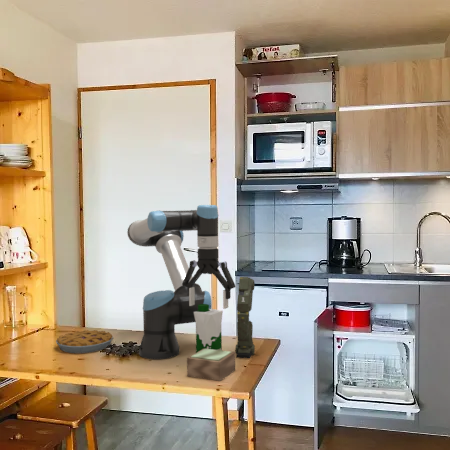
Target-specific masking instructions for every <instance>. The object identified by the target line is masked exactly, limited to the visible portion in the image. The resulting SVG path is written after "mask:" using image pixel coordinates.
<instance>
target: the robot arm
mask: <svg viewBox="0 0 450 450" xmlns="http://www.w3.org/2000/svg"><path fill="white" fill-rule="evenodd" d="M218 209H219V208H218V206H217V205H216V204H201V205H198V206H197V207H196V209H191V210H154V211H153V210H152V211H150V212H149V213H148V215H147V218H145V219H143V220H142V219H139V220H135V221H133V222H132V223H130V224H129V226H128V227H127V232H126V233H127V237H128V239H129V241H130V242H131V243H133V244H134V245H136V246H139V247H155V250H156V251H157V252H158V253H160V254H161V256H162V258H163V261H164V265H165V267H166V270H167V273H168V276H169V278H170V280H171V281H170V282H171V284H172V286H173V289H174V291H173V290H171V289H166V290H157V291H153V292H150V293H148V294H146V295H145V296H144V297H143V301H142V303H143V304H142V311H143V313H142V314H143V315H142V316H143V335H142V336H143V337H142V338H141V341H140V345H139V350H138V351H139V354H138V355H139V356H140V357H141V358H144V359H147V360H163V359H164V360H165V359H170V358H174V357H176V356H179V354H180V345H179V342H178V339H177V336H176V332H175V325H183V324H192V323H196V322H195V317H194V312H195V311H197V310H198V305H199V304H208V305H209V309H212V304H213V303H212V302H213V301H212V296H211V293H210V292H209V291H207V290H203V289H202V287H201V285H200V284H199V283H197V281H198V279H199V278H200V277H201V275H206V274H208V275H213V276H215V278H216V279H217V280H218V282H219V283H220V285H222V287H223V288H224V290H222V306H223V307H222V308H223V309H224V310H226V309H228V308H229V300H230V299H231V298H232V297H231V290H232V289H235V288H236V283H235V281H234V279H233V277H232V275H231V272H230V270H229V268H228V263H227V261H221V262H219V258H220V257H219V248H218V247H219V211H218ZM189 231H190V232H191V231H197V232H196V235H197V243H196V244H197V247H198V248H197V261H196V260H191V261H189V265H188V263H187V260H186V257H185V254H184V253H183V250H182V247H181V246H182V244H183V241H184V237H185V236H184V232H189ZM196 267H197V268H198V269H197V271H196V272H194V271H195V270H196ZM219 268H220V269H221V271H220V270H219ZM221 272H222V273H221ZM194 273H195V274H194ZM193 274H194V275H193Z"/></svg>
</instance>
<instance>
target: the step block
mask: <svg viewBox="0 0 450 450" xmlns="http://www.w3.org/2000/svg"><path fill="white" fill-rule="evenodd" d="M186 368H187V371H186V372H187V373H186V374H187V377H192V378H197V379H198V378H199V379H205V380H211V381H218V382H221V381H223V380H224V379H225V378H226V377H228V376H229V375H230V374H232V373H233V372H234V371H236V351H235V352H234V351H230V350H229V351H228V350H222V351H221V350H213V349H202V350H200V351H199V352H197V353H196V352H195V353H193V354H191V355H190V356H188V357H186Z"/></svg>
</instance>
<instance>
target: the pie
mask: <svg viewBox="0 0 450 450" xmlns="http://www.w3.org/2000/svg"><path fill="white" fill-rule="evenodd" d="M113 339H114V337H113V335H112V334H111V332H110V331H107V332H106V331H105V330H101V331H98V330H96V329H95V330H89V329H87V330H86V329H84V330H83V331H79V330H77V331H74V332H72V333H70V332H69V333H65V334H64V335H60V336H58V338H56V340H55V342H56V345H58V346H59V349H60V350H61V351H63V352H65V353H71V354H87V353H94V352H98V351H102V350H104V348H105V349H107V348H108V347H109V346H111V344H112V341H113ZM108 345H109V346H108ZM107 346H108V347H107ZM106 347H107V348H106Z"/></svg>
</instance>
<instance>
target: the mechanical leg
mask: <svg viewBox="0 0 450 450" xmlns="http://www.w3.org/2000/svg"><path fill="white" fill-rule="evenodd" d="M254 290H255V280H254V279H253V278H251V277H249V276H240V277H239V281H238V294H237V301H236V303H237V304H236V311H237V313H236V316H237V321H236V324H237V325H236V328H237V329H236V331H237V344H235V349H234V350H235V359H250V358H251V357H252V356H253V355H255V352H256V351H255V349H256V348H255V347H256V346H255V344H254V340H253V322H252V321H251V320H250V312H251V310H253V309H252V307H253V295H254Z"/></svg>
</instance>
